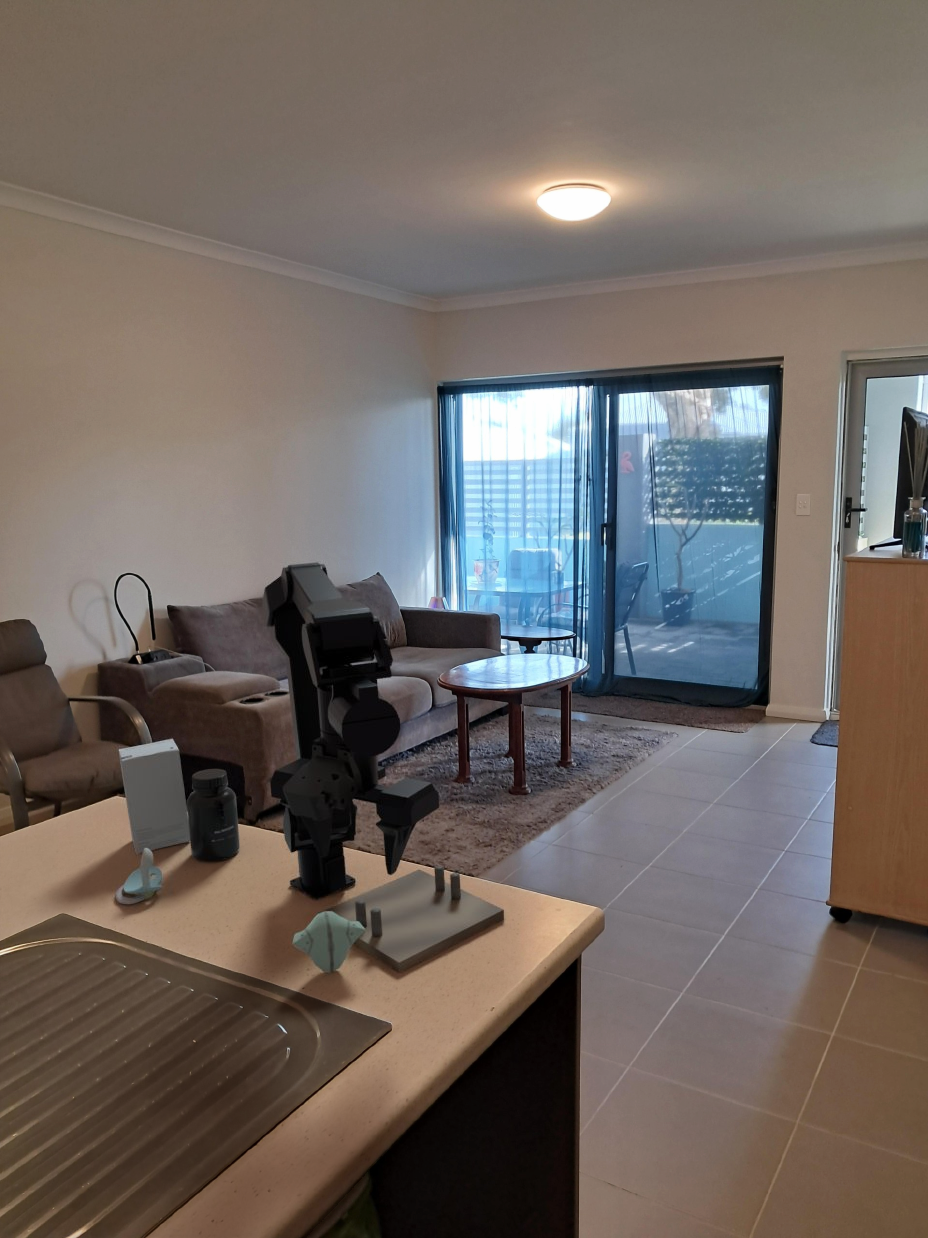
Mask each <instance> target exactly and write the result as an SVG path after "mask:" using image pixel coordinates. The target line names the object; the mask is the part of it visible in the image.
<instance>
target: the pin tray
mask: <svg viewBox="0 0 928 1238" xmlns="http://www.w3.org/2000/svg"><path fill="white" fill-rule="evenodd" d="M460 876H461V875H460V873H459V872H452V873H450V874H449V877H450V878H449V879H450V881H449V882H450V883H449V882H447V881H445V867H444V866H443V865H436V866H434V875H432V874H430V873H428V872H426V871H423V870H422V869H417V870H414V871H412V872H410V873H408V874H405V875H403V876H401V877H398V878H396V879H394V880H391V881H389V882H386V883H385V884H382V885H379V886H378V887H374V888H373V889H370V890H368V891H365V892H364V893H361V894H359V895H356V896H354V897H352V898H349V899H347V900H344V901H343V902H340V903H338V904H336V905H333V906H331V907H329V908H327V909H324V910H322V911H319V912H317V914H319V913H322V912H324V911H333V912H334V913H335V914H337V915H338V916H340V917H342V918H345V919H347V920H349V921H359V922H360V923H361V925H362V926H363V927H364V928H365V929H366V930H365V931H364V932H363V933H362V934H361V935H360V936H359V938H358V939H357V940H356V941H355V942H354V943H353V945H354V946H356V947H358V948H359V949H361V950H363V951H364V952H366V953H368V954H369V955H371V956H372V957H374V958H376V959H377V960H378V961H380V962H382V963H384V964H385V965H387V966H388V967H390V968H392V969H393V970H395V971H397V972H398V973H402V972H403V971H406V970H408V969H409V968H411V967H413V966H416V965H417V964H419V963H421V962H423V961H425V960H427V959H429V958H431V957H433V956H435V955H436V954H438V953H441V952H443V951H444V950H446V949H448V948H450V947H452V946H454V945H456V944H457V943H460V942H462V941H464V940H466V939H469V938H470V937H472V936H475V934H478V933H480V932H481V931H483V930H486V929H487V928H489V927H491V926H493V925H495V924H497V923H499V922H501V921H503V920H505V909H503V908H501V907H499V906H497V905H495V904H493V903H491V902H488V901H487V900H485V899H482V898H481V897H478V896H476V895H474V894H472V893H469V892H468V891H466V890H464V889H461V877H460Z"/></svg>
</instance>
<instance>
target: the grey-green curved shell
mask: <svg viewBox="0 0 928 1238" xmlns="http://www.w3.org/2000/svg"><path fill="white" fill-rule="evenodd" d="M323 911H324V910H323ZM318 913H319V912H318ZM318 913H317V914H316V915H315V916H314V918H313V919H312V920H311V922H309V924H308V925H307V926H306V927H305V928H304V929H303V930H302V931H301V930H300V931H299V932H296V933H294V936H293V941H292V946H294V948H295V947H296V948H297V949H298V950H300V951H301V952H303V953H305V954H307V955H308V956H309V957H310V958H311V961H312V962H313V964H314V966H315V967H317V969H319V970H321V971H322V972H326V973H333V972H335V971H337V970H338V969H340V968H341V966H342V965H343V963H345V961H346V958H347V956H348V953H349V950H350V949H351V947H352V946H353V945H354V944H353V943H354V942H355V941H356V940H357V939H358V938H359V936H360V935H361V934H362V933H363V932H364V931H365V930H366V929H365V928H364V927H363V926H362V925H361V923H360V922H359V921H349V920H347V919H345V918H342V917H340V916H338V915H337V914H335V913H334V912H333V911H324V912H322V913H319V914H318Z"/></svg>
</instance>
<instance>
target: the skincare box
mask: <svg viewBox="0 0 928 1238" xmlns="http://www.w3.org/2000/svg"><path fill="white" fill-rule="evenodd" d="M118 756H119V764H120V770H121V771H120V772H121V776H122V781H123V782H122V783H123V788H124V789H123V791H124V794H125V795H124V796H125V802H126V808H127V814H128V820H129V827H130V834H131V839H132V844H133V847H134V850H135V854H136V855H137V854H142V853H143V850H144V848H148V849H150V850H151V851H153V850H158V849H162V848H167V847H171V846H174V845H181V844H184V843H190V833H189V822H188V811H187V800H186V794H185V786H184V779H183V773H182V771H183V770H182V765H181V764H182V763H181V756H180V749H179V747H178V745H177V744H176V742H175V740H174V739H173V738H169V739H165V740H160V741H159V740H158V741H155V742H151V743H146V744H141V745H136V746H131V747H124V748H119V749H118Z"/></svg>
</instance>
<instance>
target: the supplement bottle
mask: <svg viewBox="0 0 928 1238" xmlns="http://www.w3.org/2000/svg"><path fill="white" fill-rule="evenodd" d="M227 775H228V773H227V771H226V770H224V769H220V768H210V769H209V768H208V769H204V770H200V771H196V772H195V773H194V774H192V776H191V781H192V785H191V789H192V790H193V792H191V793H190V794H189V796H188V797H187V800H186V808H187V815H188V822H189V833H190V841H189V843H190V851H191V856H192V857H193V858H194V859H195V860H196V861H199V862H205V863H215V862H220V861H225V860H228V859H230V858H231V857H234V856H235V855H236V854H237V853H238V852H239V850H240V844H241V843H240V832H239V819H238V808H237V807H238V806H237V796H236V793H235V792H234V790H233V789H232V788H230V787H228V785H229V781H228V776H227Z"/></svg>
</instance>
